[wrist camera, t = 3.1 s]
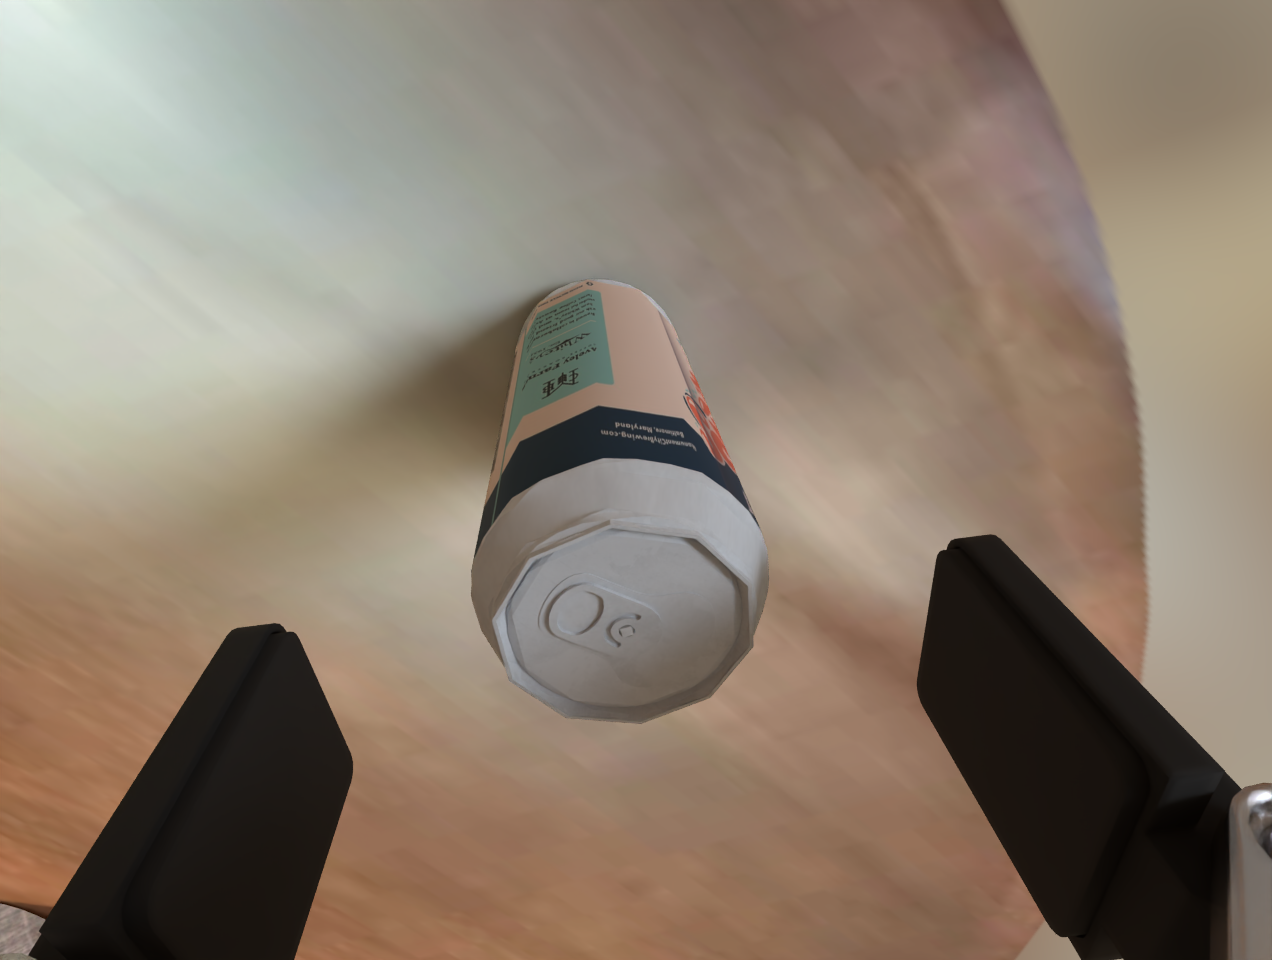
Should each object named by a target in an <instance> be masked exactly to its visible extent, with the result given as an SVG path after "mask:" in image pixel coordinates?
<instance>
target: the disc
mask: <svg viewBox="0 0 1272 960" xmlns="http://www.w3.org/2000/svg"><path fill="white" fill-rule="evenodd" d="M44 922H45V919H43V918H41V917H39V916H37V915H34V914H32V913H29V912H27V911H24V910H21V909H18V908H15V907H12V906H8V905H4V904H0V954H11V953H23V954H25V955H28V954H29V953H30V951H31V949H32V948H33V946H34V945H35V943H36V941H37V940H38V938H39V937H40V935H41V933H40V932H39V930H40V928H41V926H42V925H43V923H44Z"/></svg>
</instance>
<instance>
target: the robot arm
mask: <svg viewBox="0 0 1272 960" xmlns="http://www.w3.org/2000/svg"><path fill="white" fill-rule="evenodd" d="M917 691H918V695H919V698H920V701H921V704H922V706H923V708H924V710H925V711H926V713H927V715H928V717H929V718H930V720H931V722H932V723H933V725H934V727H935V729H936V730H937V732H938V734H939V736H940V737H941V739H942V741H943V743H944V744H945V746H946V748H947V750H948V751H949V753H950V755H951V757H952V758H953V760H954V762H955V764H956V765H957V767H958V769H959V770H960V772H961V774H962V776H963V777H964V779H965V781H966V783H967V784H968V786H969V788H970V790H971V791H972V793H973V795H974V797H975V798H976V800H977V802H978V804H979V805H980V807H981V809H982V810H983V812H984V814H985V816H986V817H987V819H988V821H989V823H990V824H991V826H992V828H993V830H994V831H995V833H996V835H997V837H998V838H999V840H1000V842H1001V844H1002V845H1003V847H1004V849H1005V850H1006V852H1007V854H1008V856H1009V857H1010V859H1011V861H1012V863H1013V864H1014V866H1015V868H1016V870H1017V871H1018V873H1019V875H1020V877H1021V878H1022V880H1023V882H1024V884H1025V885H1026V887H1027V889H1028V891H1029V892H1030V894H1031V896H1032V897H1033V899H1034V901H1035V903H1036V904H1037V906H1038V908H1039V910H1040V911H1041V913H1042V915H1043V917H1044V918H1045V920H1046V922H1047V923H1048V925H1049V926H1050V928H1051V929H1052V930H1053V931H1054V932H1055V933H1056V934H1057V935H1059V936H1060V937H1068V938H1069V939H1070V941H1071V943H1072V945H1073V946H1074V948H1075V950H1076V951H1077V953H1078V955H1079V957H1080V958H1081V960H1115V959H1122V958H1123V959H1124V960H1272V783H1261V784H1256V785H1252V786H1248V787H1245V788H1243V789H1241V788H1240V787H1239V786H1238V785H1237V784H1236V783H1235V782H1234V781H1233V780H1232V779H1231V778H1230V776H1229V775H1228V774H1227V773H1226V772H1225V770H1224V769H1223V768H1222V767H1221V766H1220V765H1219V764H1218V763H1217V762H1216V761H1215V760H1214V759H1213V758H1212V757H1211V756H1210V755H1209V754H1208V753H1207V752H1206V751H1205V750H1204V749H1203V748H1202V747H1201V746H1200V745H1199V744H1198V743H1197V741H1196V740H1195V739H1194V738H1193V737H1192V736H1191V735H1190V734H1189V733H1188V732H1187V731H1186V730H1185V729H1184V728H1183V727H1182V726H1181V725H1180V724H1179V723H1178V722H1177V721H1176V720H1175V719H1174V718H1173V717H1172V716H1171V715H1170V714H1169V713H1168V711H1167V710H1165V708H1164V707H1163V706H1162V705H1161V704H1160V703H1159V702H1158V701H1157V700H1156V699H1155V698H1154V697H1153V696H1152V695H1151V694H1150V693H1149V692H1148V691H1147V690H1146V689H1145V688H1144V687H1143V686H1142V685H1141V684H1140V683H1139V682H1138V680H1137V679H1136V678H1135V677H1134V676H1133V675H1132V674H1131V673H1130V672H1129V671H1128V670H1127V669H1126V668H1125V667H1124V666H1123V665H1122V664H1121V663H1120V662H1119V661H1118V660H1117V659H1116V658H1115V657H1114V656H1113V655H1112V654H1111V653H1110V652H1109V651H1108V649H1107V648H1106V647H1105V646H1104V645H1103V644H1102V643H1101V642H1100V641H1099V640H1098V639H1097V638H1096V637H1095V636H1094V635H1093V634H1092V633H1091V632H1090V631H1089V630H1088V629H1087V628H1086V627H1085V626H1084V625H1083V624H1082V623H1081V622H1080V621H1079V619H1078V618H1077V617H1076V616H1075V615H1074V614H1073V613H1072V612H1071V611H1070V610H1069V609H1068V608H1067V607H1066V606H1065V605H1064V604H1063V603H1062V602H1061V601H1060V600H1059V599H1058V598H1057V597H1056V596H1055V595H1054V594H1053V593H1052V592H1051V591H1050V590H1049V588H1048V587H1047V586H1046V585H1045V584H1044V583H1043V582H1042V581H1041V580H1040V579H1039V578H1038V577H1037V576H1036V575H1035V574H1034V573H1033V572H1032V571H1031V570H1030V569H1029V568H1028V567H1027V566H1026V565H1025V564H1024V563H1023V562H1022V561H1021V560H1020V559H1019V557H1018V556H1017V555H1016V554H1015V553H1014V552H1013V551H1012V550H1011V549H1010V548H1009V547H1008V546H1007V545H1006V544H1005V543H1004V542H1003V541H1002V540H1001V539H1000V538H998V537H997V536H996V535H991V534H990V535H982V536H974V537H966V538H958V539H954V540H951V541H950V543H949V544H948V547H947V550H943V551H940V552H939V553H938V555H937V559H936V565H935V571H934V577H933V583H932V590H931V596H930V602H929V608H928V615H927V621H926V627H925V633H924V640H923V646H922V652H921V658H920V664H919V671H918V677H917ZM352 775H353V761H352V756H351V753H350V751H349V748H348V746H347V744H346V742H345V739H344V737H343V735H342V733H341V731H340V728H339V726H338V724H337V722H336V719H335V717H334V715H333V713H332V711H331V708H330V706H329V704H328V702H327V699H326V697H325V695H324V693H323V691H322V688H321V686H320V684H319V682H318V679H317V677H316V675H315V673H314V671H313V668H312V666H311V664H310V662H309V659H308V657H307V655H306V653H305V651H304V648H303V646H302V644H301V642H300V639H299V638H298V636H297V634H295V633H294V632H286V630H285V629H284V627H283V626H281V625H280V624H276V623H273V624H265V625H257V626H249V627H241V628H236V629H234V630H232V631H231V632H230V633H229V634H228V635H227V636H226V638H225V639H224V641H223V643H222V644H221V646H220V647H219V649H218V650H217V652H216V654H215V655H214V657H213V658H212V660H211V661H210V663H209V665H208V666H207V668H206V669H205V671H204V672H203V674H202V675H201V677H200V679H199V680H198V682H197V683H196V685H195V686H194V688H193V690H192V691H191V693H190V694H189V696H188V697H187V699H186V701H185V702H184V704H183V705H182V707H181V708H180V710H179V712H178V713H177V715H176V716H175V718H174V719H173V721H172V723H171V724H170V726H169V727H168V729H167V730H166V732H165V734H164V735H163V737H162V738H161V740H160V741H159V743H158V744H157V746H156V748H155V749H154V751H153V752H152V754H151V755H150V757H149V759H148V760H147V762H146V763H145V765H144V766H143V768H142V770H141V771H140V773H139V774H138V776H137V777H136V779H135V781H134V782H133V784H132V785H131V787H130V788H129V790H128V792H127V793H126V795H125V796H124V798H123V799H122V801H121V802H120V804H119V806H118V807H117V809H116V810H115V812H114V813H113V815H112V817H111V818H110V820H109V821H108V823H107V824H106V826H105V828H104V829H103V831H102V832H101V834H100V835H99V837H98V839H97V840H96V842H95V843H94V845H93V846H92V848H91V850H90V851H89V853H88V854H87V856H86V857H85V859H84V861H83V862H82V864H81V865H80V867H79V868H78V870H77V871H76V873H75V875H74V876H73V878H72V879H71V881H70V882H69V884H68V886H67V887H66V889H65V890H64V892H63V893H62V895H61V897H60V898H59V900H58V901H57V903H56V904H55V906H54V908H53V909H52V911H51V912H50V914H49V915H48V917H47V919H46V920H45V922H44V923H43V925H42V926H41V928H40V930H39V932H40V933H41V935H40V937H39V938H38V940H37V941H36V943H35V945H34V946H33V948H32V949H31V951H30V953H29V954H28V955H25V954H23V953H11V954H0V960H294V958H295V955H296V952H297V949H298V946H299V943H300V939H301V936H302V933H303V930H304V927H305V924H306V921H307V918H308V915H309V911H310V908H311V905H312V902H313V899H314V896H315V893H316V890H317V886H318V883H319V880H320V877H321V874H322V871H323V868H324V865H325V862H326V858H327V855H328V852H329V849H330V846H331V843H332V840H333V837H334V834H335V830H336V827H337V824H338V821H339V818H340V815H341V812H342V809H343V805H344V802H345V799H346V796H347V793H348V790H349V787H350V784H351V780H352Z"/></svg>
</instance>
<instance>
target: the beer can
mask: <svg viewBox="0 0 1272 960" xmlns="http://www.w3.org/2000/svg"><path fill="white" fill-rule="evenodd" d="M471 577H472V587H471V597H472V602H473V605H474V609H475V612H476V615H477V618H478V621H479V624H480V627H481V630H482V632H483V634H484V635H485V637H486V638H487V640H488V642H489V643H490V645H491V647H492V648H493V650H494V651H495V653H496V654H497V656H498V658H499V659H500V661H501V662H502V664H503V665H504V667H505V669H506V672H507V675H508V679H509V681H510V682H512V683H513V684H515V685H516V686H518V687H519V688H521V689H522V690H524V691H525V692H527V693H528V694H530V695H531V696H533V697H535V698H536V699H538V700H539V701H541V702H542V703H544V704H545V705H547V706H548V707H550V708H551V709H553V710H554V711H556V712H558V713H559V714H561V715H562V716H564V717H565V718H570V719H584V720H597V721H610V722H623V723H636V724H642V723H644V722H647V721H650V720H652V719H655V718H658V717H660V716H663V715H666V714H668V713H671V712H674V711H676V710H679V709H682V708H684V707H687V706H690V705H692V704H695V703H698V702H700V701H703V700H706V699H708V698H711V696H712V695H713V694H714V693H715V692H716V690H717V689H718V688H719V687H720V686H721V685H722V683H723V682H724V681H725V680H726V679H727V677H728V676H729V675H730V674H731V673H732V671H733V670H734V669H735V668H736V667H737V666H738V664H739V663H740V662H741V661H742V660H743V658H744V657H745V656H746V655H747V654H748V652H749V651H750V650H751V649H752V648H753V636H754V634H755V631H756V628H757V625H758V623H759V620H760V617H761V614H762V612H763V608H764V604H765V600H766V596H767V593H768V585H769V567H768V552H767V548H766V545H765V542H764V538H763V535H762V532H761V530H760V527H759V525H758V523H757V520H756V518H755V516H754V513H753V511H752V509H751V506H750V504H749V502H748V499H747V497H746V495H745V492H744V490H743V488H742V485H741V483H740V481H739V478H738V476H737V474H736V471H735V469H734V467H733V464H732V462H731V460H730V457H729V455H728V453H727V450H726V448H725V446H724V443H723V441H722V439H721V436H720V434H719V432H718V429H717V427H716V425H715V422H714V420H713V418H712V415H711V413H710V411H709V408H708V406H707V404H706V401H705V399H704V397H703V394H702V392H701V390H700V387H699V385H698V383H697V380H696V378H695V376H694V373H693V371H692V368H691V366H690V364H689V361H688V359H687V357H686V354H685V352H684V350H683V347H682V345H681V343H680V340H679V338H678V336H677V333H676V331H675V329H674V327H673V325H672V323H671V322H670V320H669V318H668V317H667V315H666V313H665V312H664V310H663V309H662V308H661V307H660V306H659V305H658V304H657V303H656V302H655V301H654V300H653V299H652V298H651V297H650V296H648V295H647V294H645V293H644V292H642V291H641V290H639V289H637V288H635V287H633V286H630V285H628V284H626V283H622V282H617V281H613V280H609V279H587V280H582V281H577V282H573V283H571V284H569V285H566V286H564V287H562V288H559V289H557V290H555V291H553V292H552V293H550V294H549V295H548V296H547V297H546V298H544V299H543V300H542V301H540V302H539V303H538V304H537V305H536V306H535V307H534V309H533V311H532V312H531V314H530V315H529V317H528V318H527V320H526V321H525V323H524V326H523V328H522V331H521V334H520V336H519V339H518V342H517V346H516V351H515V356H514V361H513V366H512V371H511V376H510V381H509V386H508V391H507V396H506V401H505V405H504V410H503V415H502V420H501V425H500V430H499V435H498V440H497V445H496V450H495V455H494V460H493V465H492V470H491V475H490V480H489V485H488V490H487V495H486V500H485V505H484V510H483V515H482V520H481V525H480V530H479V535H478V540H477V545H476V550H475V555H474V560H473V565H472V570H471Z"/></svg>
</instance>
